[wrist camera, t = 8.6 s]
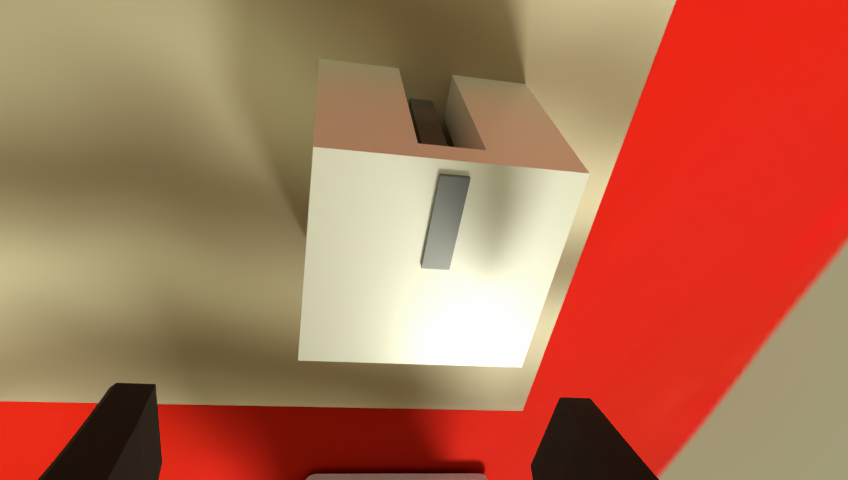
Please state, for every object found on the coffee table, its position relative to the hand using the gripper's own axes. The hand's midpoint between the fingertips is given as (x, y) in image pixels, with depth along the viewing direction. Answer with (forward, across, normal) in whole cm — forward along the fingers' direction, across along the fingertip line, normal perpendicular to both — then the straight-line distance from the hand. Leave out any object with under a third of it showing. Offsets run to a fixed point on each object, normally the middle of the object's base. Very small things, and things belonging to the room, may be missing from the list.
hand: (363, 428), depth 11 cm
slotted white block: (+8, -1, -1) cm, 8 cm away
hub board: (+9, +4, +1) cm, 10 cm away
